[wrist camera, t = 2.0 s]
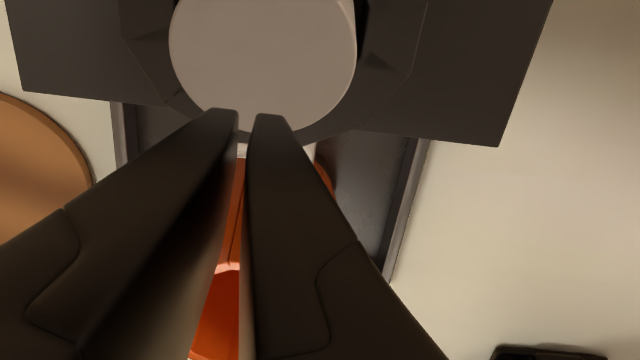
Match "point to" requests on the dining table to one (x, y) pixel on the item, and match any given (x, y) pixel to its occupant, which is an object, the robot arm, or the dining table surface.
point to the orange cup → (228, 284)
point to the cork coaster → (35, 167)
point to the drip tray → (338, 162)
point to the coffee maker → (365, 88)
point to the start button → (265, 56)
